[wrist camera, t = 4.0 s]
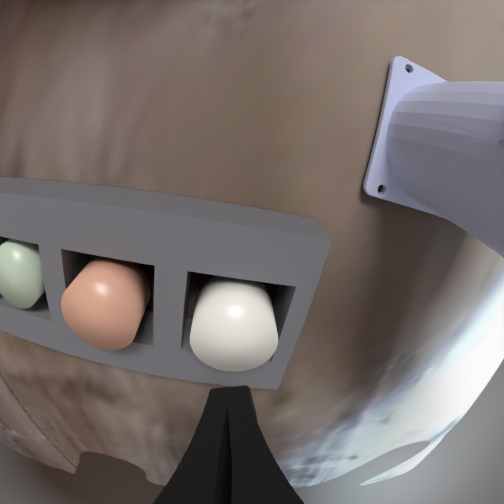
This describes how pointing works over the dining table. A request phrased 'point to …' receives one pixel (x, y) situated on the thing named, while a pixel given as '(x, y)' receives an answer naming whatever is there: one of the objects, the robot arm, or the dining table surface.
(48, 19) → the dining table surface
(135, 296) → the terracotta button
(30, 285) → the sage button
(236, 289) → the cream button
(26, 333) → the button panel
